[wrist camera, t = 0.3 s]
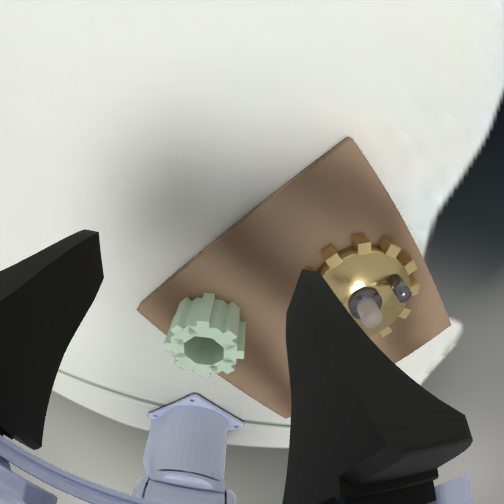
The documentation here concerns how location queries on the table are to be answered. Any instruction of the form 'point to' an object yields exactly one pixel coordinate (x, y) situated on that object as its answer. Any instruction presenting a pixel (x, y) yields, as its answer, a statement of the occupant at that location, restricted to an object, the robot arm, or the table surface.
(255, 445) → the table surface
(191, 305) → the pale green gear
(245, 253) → the gear board
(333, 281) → the brass gear
